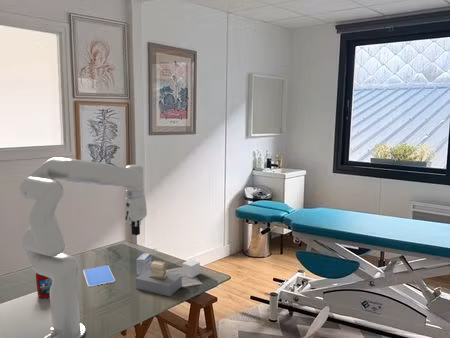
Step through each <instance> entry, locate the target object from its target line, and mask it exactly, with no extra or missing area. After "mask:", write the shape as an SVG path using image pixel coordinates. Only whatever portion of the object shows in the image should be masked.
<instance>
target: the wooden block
mask: <svg viewBox="0 0 450 338" xmlns="http://www.w3.org/2000/svg"><path fill="white" fill-rule="evenodd" d="M166 273H167V264H166V261H165V262H164V261H159V260H153V261H151V278H153V279H157V280H162V281H163V280H165V279H166Z"/></svg>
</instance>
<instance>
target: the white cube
mask: <svg viewBox="0 0 450 338" xmlns="http://www.w3.org/2000/svg"><path fill="white" fill-rule="evenodd" d="M200 263H201V262H199V261H197V260H194V259H188V260H186V261H184V262H182V265H181V266H182V275H184V276H185V275H186V277H188V278H190V277H191V279H192V278H194V277H196V276H198V275H200V273H201V267H200V266H201V264H200Z"/></svg>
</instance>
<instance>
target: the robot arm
mask: <svg viewBox="0 0 450 338" xmlns="http://www.w3.org/2000/svg"><path fill="white" fill-rule="evenodd" d="M61 182H65V183H72V184H83V185H84V184H86V185H96V186H114V187H122V188H123V187H125V200H124V218H125V219H124V220H125V221H126V224H127V225H130V227H131V235H132V236H133V235H134V236H139V235H140V234H141V225H142V224H141V223H142V220H143V219H144V218H146V217H147V212H148V211H147V202H146V201H147V200H146V197H145V193H144V188H145V187H144V167H143V166H142V165H140V164H128V165H126V166H117V165H111V164H107V163H103V162H96V161H89V160H83V159H75V158H66V157H56V156H55V157H52V158H49V159H48V160H46V161H45V162H44V163H42V164H41V165H39V166H38V167H37V168H35V169H34V170H33V171H32V172H30V173H29V174H28V175H27V176H25V177H24V178H23V179H22V181H21V183H20V185H19V194H20V195H21V197H22V198H23V199H24V200H27V201H31V202H33V205H32V207H31V209H30V212H29V214H28V225H29V227H27V228H26V230H25V231H24V232H23V234H22V237H21V245H22V247H23V250H24V252H25V255H26V256H27V259H28V261H29V264H30V265H31V267H32V269H33V270H34V272H35V273H38V274H40V275H43V276H46V277H48V278H51V279H52V285H51V288H50V296H49V300H50V301H49V302H50V312H51V313H50V314H51V321H52V322H51V323H52V327H50V332H49V333H48V335H45V336H44V337H43V338H82V337H83V336H85V334H86V326H85V325H84V324H83V323H81V317H80V316H81V314H80V303H79V291H78V276H79V269H80V268H79V267H80V266H79V263H78V262H79V261H78V260H77V259H76V257H75V256H72V255H71V254H68V253H65V248H66V240H65V237H64V234H63V232H62V230H61V227H60V225H59V222H58V219H57V216H56V215H57V214H56V213H57V209H58V207H59V205H60V203H61V201H62V199H63V197H64V192H65V191H64V187H63V184H62V183H61Z"/></svg>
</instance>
